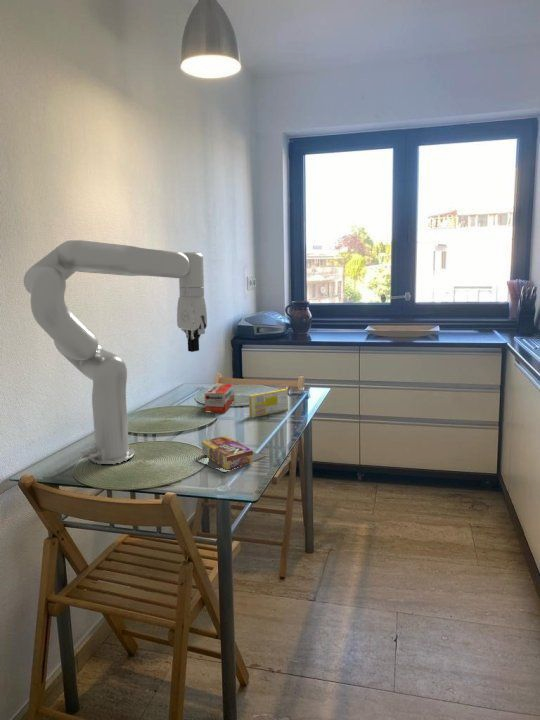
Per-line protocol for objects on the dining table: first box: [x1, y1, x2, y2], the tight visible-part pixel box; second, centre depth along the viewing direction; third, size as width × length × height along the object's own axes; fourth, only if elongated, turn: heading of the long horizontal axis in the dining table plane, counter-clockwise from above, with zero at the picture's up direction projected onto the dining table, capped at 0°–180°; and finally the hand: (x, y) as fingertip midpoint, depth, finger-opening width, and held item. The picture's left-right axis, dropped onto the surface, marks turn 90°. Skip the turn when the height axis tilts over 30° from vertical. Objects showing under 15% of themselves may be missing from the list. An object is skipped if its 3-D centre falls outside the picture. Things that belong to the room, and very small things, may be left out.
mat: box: [207, 451, 266, 471], centre depth 161 cm, size 16×12×1 cm
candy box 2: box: [248, 388, 289, 418], centre depth 203 cm, size 16×2×8 cm, turn 122°
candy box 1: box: [201, 435, 254, 470], centre depth 160 cm, size 9×4×15 cm
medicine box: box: [204, 383, 235, 414], centre depth 211 cm, size 15×8×8 cm, turn 170°
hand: (193, 350), depth 173 cm, fingers closed
